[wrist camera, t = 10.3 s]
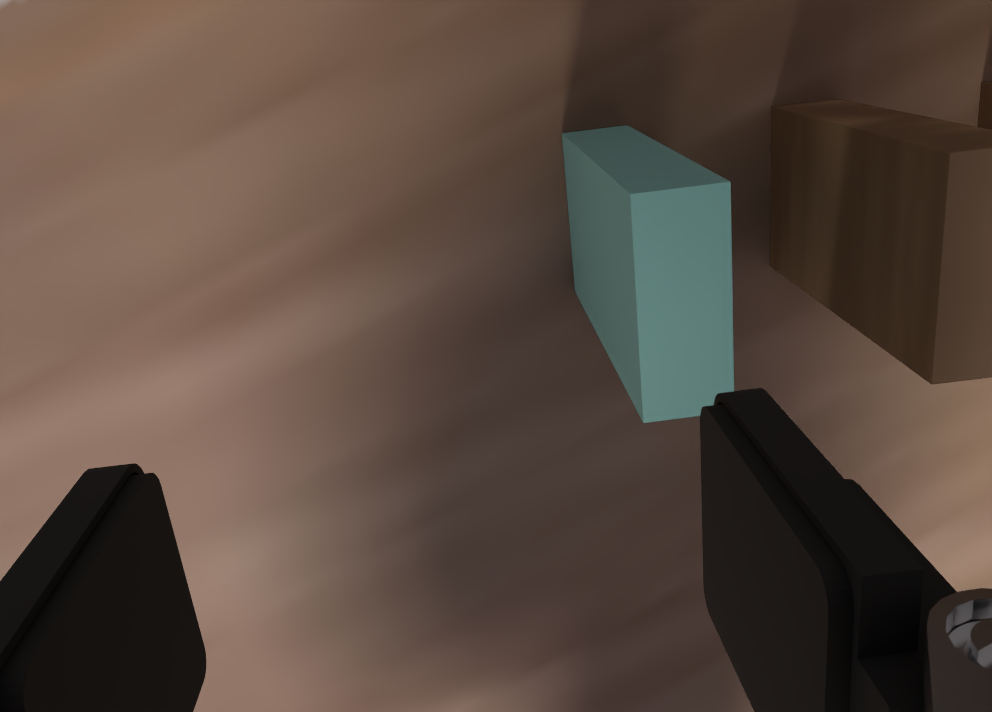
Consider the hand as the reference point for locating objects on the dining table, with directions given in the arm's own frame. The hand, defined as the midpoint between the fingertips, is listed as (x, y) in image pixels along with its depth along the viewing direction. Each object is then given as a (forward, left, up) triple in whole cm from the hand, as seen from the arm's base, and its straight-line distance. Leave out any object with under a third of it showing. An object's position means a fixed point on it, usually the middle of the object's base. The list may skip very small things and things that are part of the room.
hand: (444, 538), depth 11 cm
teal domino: (-3, -4, -18) cm, 18 cm away
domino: (-7, -9, -18) cm, 21 cm away
